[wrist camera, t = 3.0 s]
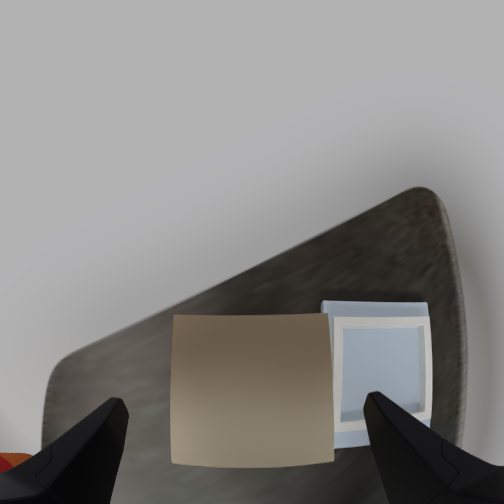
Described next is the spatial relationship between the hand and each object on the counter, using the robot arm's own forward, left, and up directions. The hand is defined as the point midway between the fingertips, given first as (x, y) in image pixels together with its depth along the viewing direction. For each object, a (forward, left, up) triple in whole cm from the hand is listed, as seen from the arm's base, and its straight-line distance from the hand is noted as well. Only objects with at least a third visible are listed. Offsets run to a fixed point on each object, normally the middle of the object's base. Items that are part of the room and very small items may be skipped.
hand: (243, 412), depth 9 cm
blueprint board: (+2, -9, -8) cm, 12 cm away
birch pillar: (+1, 0, -8) cm, 9 cm away
